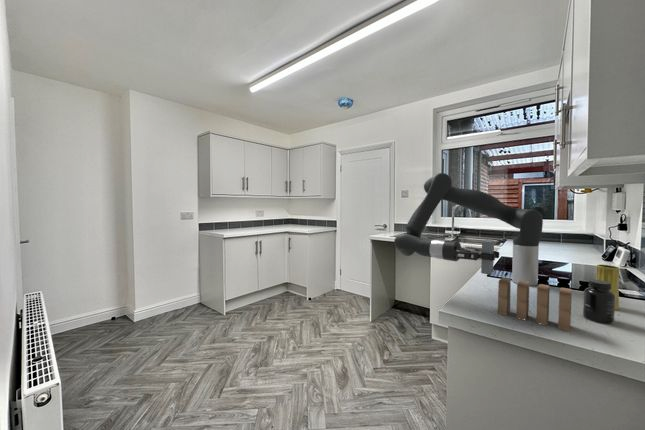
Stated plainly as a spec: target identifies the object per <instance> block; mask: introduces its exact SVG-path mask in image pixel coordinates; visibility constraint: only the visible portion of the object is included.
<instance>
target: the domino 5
mask: <svg viewBox="0 0 645 430" xmlns="http://www.w3.org/2000/svg"><path fill="white" fill-rule="evenodd" d="M572 291H573V290H572V288H568V287H567V288H566V287H560V289H559V293H558V294H559V296H558V297H559V298H558V318H557V319H558V320H557V323H558V326H557V329H558V328H560V329H559V330H561V329H564V330H563V331H565V330H570V331H571V325H572V321H571V319H572V297H573V295H572V293H573V292H572Z"/></svg>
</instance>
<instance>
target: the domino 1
mask: <svg viewBox="0 0 645 430" xmlns="http://www.w3.org/2000/svg"><path fill="white" fill-rule="evenodd" d="M481 248H482V251H481V252H482V253H490V254H494V251H495V240H492V239H484V240H481ZM480 263H481V267H480V269H481V271H480V274H483V275H488V276H489V275H491V274H492V273H494V263H495V260H494V261H490V260H483V259H481V262H480Z"/></svg>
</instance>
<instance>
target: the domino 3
mask: <svg viewBox="0 0 645 430" xmlns="http://www.w3.org/2000/svg"><path fill="white" fill-rule="evenodd" d="M516 285H517V286H516V310H515V311H516V312H515V313H516V315H515V316H516V317H515V318H516V319H517V318H520V319H519V320H521V319H525V320H526V321H527V319H528V317H529V311H530V310H529V308H530V307H529V304H530V285H529V282H525V281H520V282H519V283H518V284H517V283H516ZM526 318H527V319H526ZM525 320H524V321H525Z"/></svg>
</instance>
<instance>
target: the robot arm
mask: <svg viewBox="0 0 645 430" xmlns="http://www.w3.org/2000/svg"><path fill="white" fill-rule="evenodd" d="M423 189H424V190H423V191H425V193H426V196H425V197H424V198H423V200H422V201H421V203H420V204H419V205H418V206H417V208H416V209H415V210H414V212H413V213H412V215H411V217H410V218H409V220H408V222H407V224H406V225H405V230H406V233H403V234H399V235H397V236H396V237H395V238H394V240H393V242H394V243H393V244H394V246H395V248H396V249H397V250H398V251H399V252H400V253H401V254H402V255H404V256H406V257H409V256H412V255H414V254H415V253H416V254H418V255H419V256H422V257H429V258H434V259H438V260H443V261H450V262H458V261H459V260H469V261H470V260H471V261H478V260H479V261H482V259H483V260H490V261H494V262H495V260H496V259H499V258H500V252H499V251H497V250H496V251H495V250H494V254H490V253H482V247H475V246H463V247H462V246H461V245H462V244H461V243H460V241H458V240H447V239H433V238H432V239H431V238H423V237H421V236H422V233H423V232H424V230H425V228H426V226H427V224H428V222H429V220H430V219H431V217H432V215H433V213H434V211H435V210H436V209H437V207H438V205H439V204H440V203H441V201H442V200H443V201H447V202H450V203H452V204H455V205H458V206H460V207H463V208H465V209H468V210H470V211H472V212H475V213H476V214H477V213H478V214H479V215H484V216H486V217H489V218H493V219H497V220H500V221H502V222H504V223H506V224H507V225H510V226H511V227H514V228H516V229H518V230H519V234H518V235H517V236H515V237H513V239H512V270H511V281H512V283H514V284H516V285H517V284H518V283H519V282H520V281H525V282H529V287H530V286H532V287H533V286H538V283H539V282H538V280H539V255H540V253H539V251H540V250H539V248H540V247H539V245H540V242H541V240H542V236H543V235H542V234H543V226H544V225H543V224H544V223H543V222H544V220H543V216H542V213H541V212H540V210H539V211H538V210H537V209H529V208H528V209H527V208H518V207H513V206H511V205H508V204H505V203H503V202H502V201H501V200H499V199H498V198H496V196H493V195H492V194H489V193H486V192H484V191H481V190H478V189H470V188H459V187H455V186H453V181H452V178H451V176H450V175H449V174H447V173H444V172H440V173H439V172H438V173H436V174H434V175H433V176H431V177H430V178H428V179H427V180H426V181H424V184H423Z"/></svg>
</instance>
